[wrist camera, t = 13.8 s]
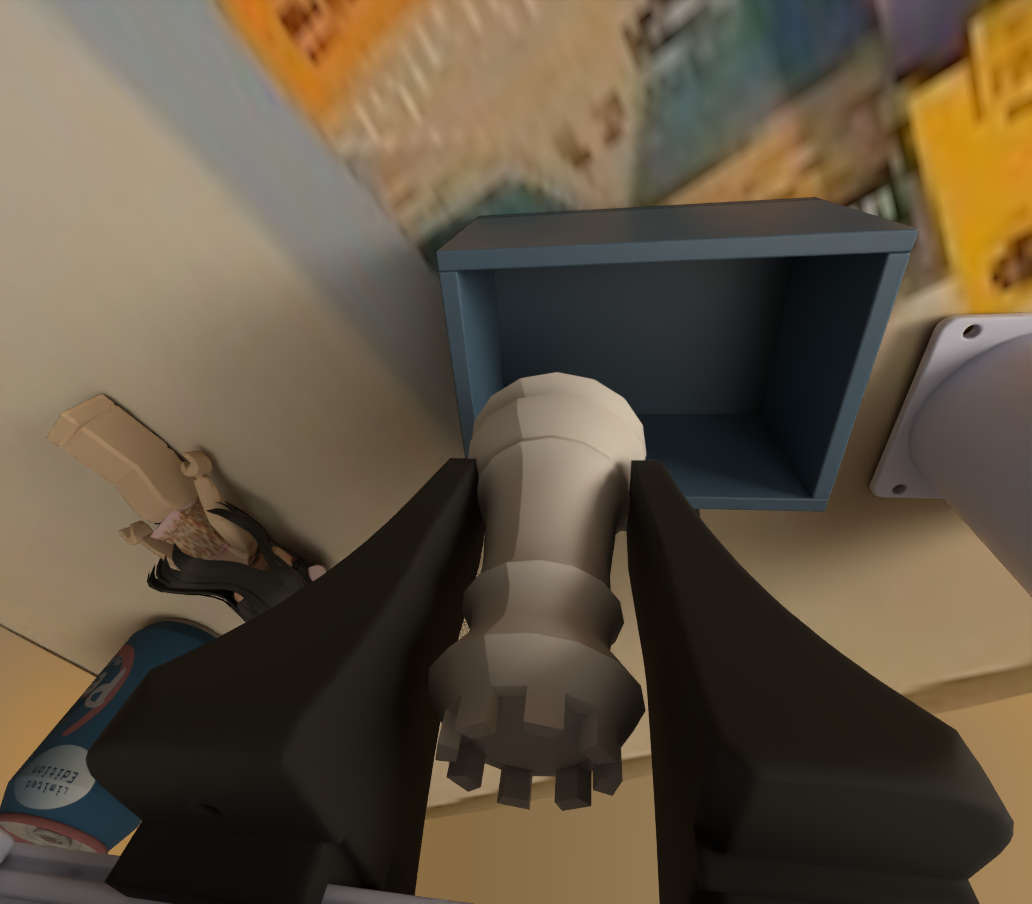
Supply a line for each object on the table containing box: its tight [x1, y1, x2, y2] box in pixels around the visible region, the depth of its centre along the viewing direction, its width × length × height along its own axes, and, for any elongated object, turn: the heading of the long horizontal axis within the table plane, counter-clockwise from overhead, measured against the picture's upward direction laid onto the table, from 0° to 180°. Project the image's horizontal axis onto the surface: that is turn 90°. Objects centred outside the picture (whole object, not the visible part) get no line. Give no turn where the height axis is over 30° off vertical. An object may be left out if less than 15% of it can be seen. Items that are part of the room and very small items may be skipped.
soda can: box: [0, 619, 220, 854], centre depth 31 cm, size 7×7×12 cm
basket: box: [436, 197, 918, 531], centre depth 17 cm, size 11×11×6 cm
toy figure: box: [46, 394, 326, 622], centre depth 26 cm, size 7×6×15 cm
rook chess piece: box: [427, 372, 646, 811], centre depth 10 cm, size 4×4×8 cm
